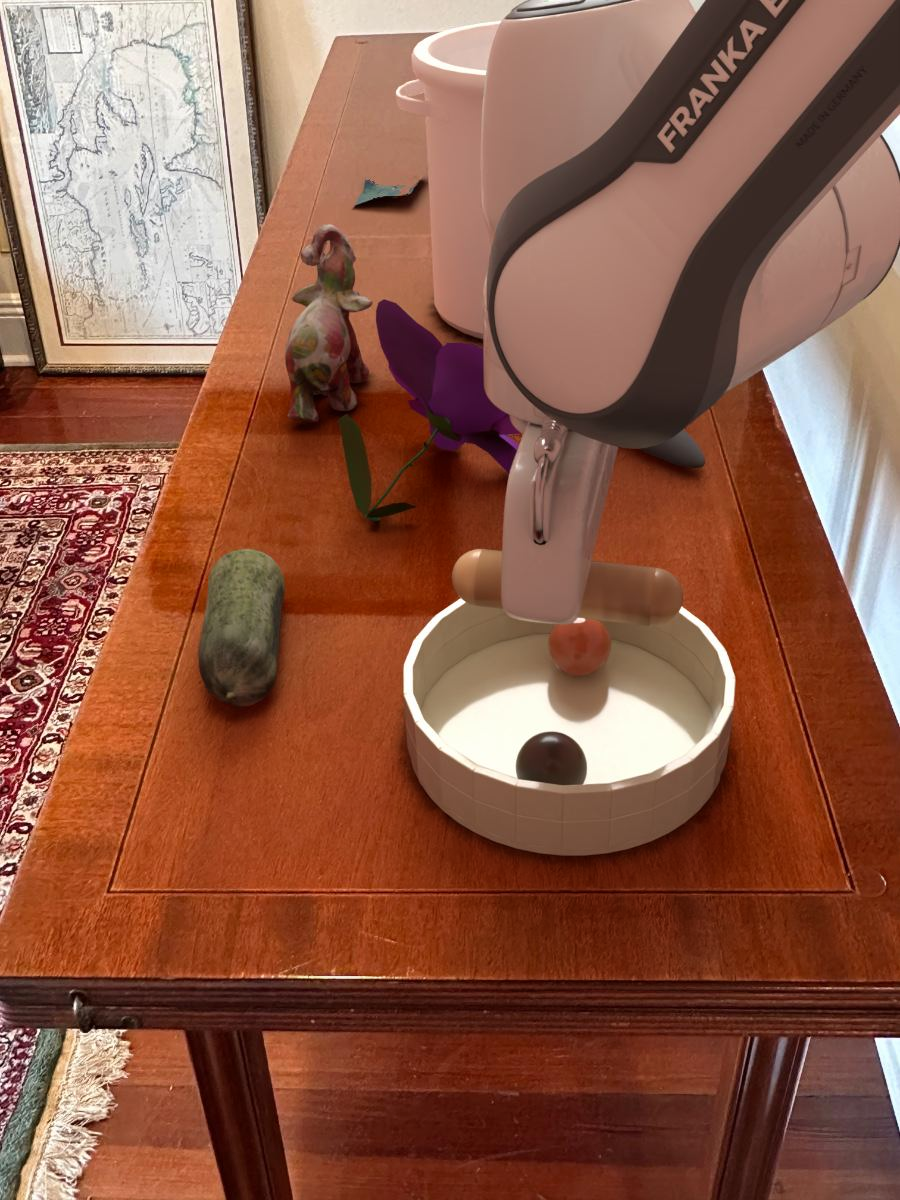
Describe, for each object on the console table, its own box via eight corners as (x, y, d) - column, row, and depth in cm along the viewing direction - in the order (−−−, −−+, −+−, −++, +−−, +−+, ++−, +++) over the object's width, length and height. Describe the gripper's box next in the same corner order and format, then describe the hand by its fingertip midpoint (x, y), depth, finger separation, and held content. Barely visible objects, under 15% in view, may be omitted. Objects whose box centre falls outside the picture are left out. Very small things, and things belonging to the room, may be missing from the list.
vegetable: (216, 595, 85) (205, 537, 82) (289, 590, 85) (281, 532, 82) (196, 729, 74) (183, 668, 71) (280, 723, 74) (270, 662, 71)
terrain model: (412, 208, 147) (410, 192, 146) (351, 209, 149) (349, 194, 148) (432, 175, 157) (431, 160, 156) (375, 176, 159) (373, 162, 158)
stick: (682, 605, 67) (687, 559, 65) (678, 641, 64) (683, 594, 62) (459, 580, 69) (457, 534, 67) (446, 614, 67) (445, 567, 65)
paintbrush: (732, 461, 97) (738, 406, 94) (692, 483, 95) (697, 428, 92) (561, 382, 110) (561, 331, 106) (521, 400, 107) (521, 348, 104)
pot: (398, 355, 115) (379, 79, 100) (418, 266, 133) (404, 20, 118) (666, 353, 113) (688, 72, 98) (650, 263, 131) (666, 13, 116)
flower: (466, 600, 92) (567, 468, 95) (389, 491, 80) (507, 344, 83) (340, 530, 100) (436, 411, 103) (253, 422, 88) (364, 291, 91)
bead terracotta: (613, 652, 78) (616, 603, 75) (605, 693, 75) (608, 643, 72) (552, 645, 78) (553, 597, 76) (542, 685, 75) (543, 635, 73)
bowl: (733, 653, 78) (741, 592, 75) (716, 881, 63) (726, 817, 60) (448, 620, 82) (445, 560, 79) (370, 827, 67) (363, 764, 64)
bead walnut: (590, 772, 69) (592, 721, 67) (580, 823, 66) (582, 772, 64) (522, 762, 70) (522, 712, 68) (509, 812, 67) (509, 762, 65)
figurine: (398, 383, 110) (386, 223, 101) (317, 438, 103) (296, 271, 94) (333, 364, 114) (316, 208, 105) (250, 416, 106) (224, 253, 97)
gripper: (615, 471, 49) (599, 720, 57) (659, 277, 64) (642, 494, 73) (464, 457, 50) (470, 702, 58) (544, 270, 66) (540, 484, 74)
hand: (566, 585), depth 66 cm, fingers closed on stick, 3 cm apart
